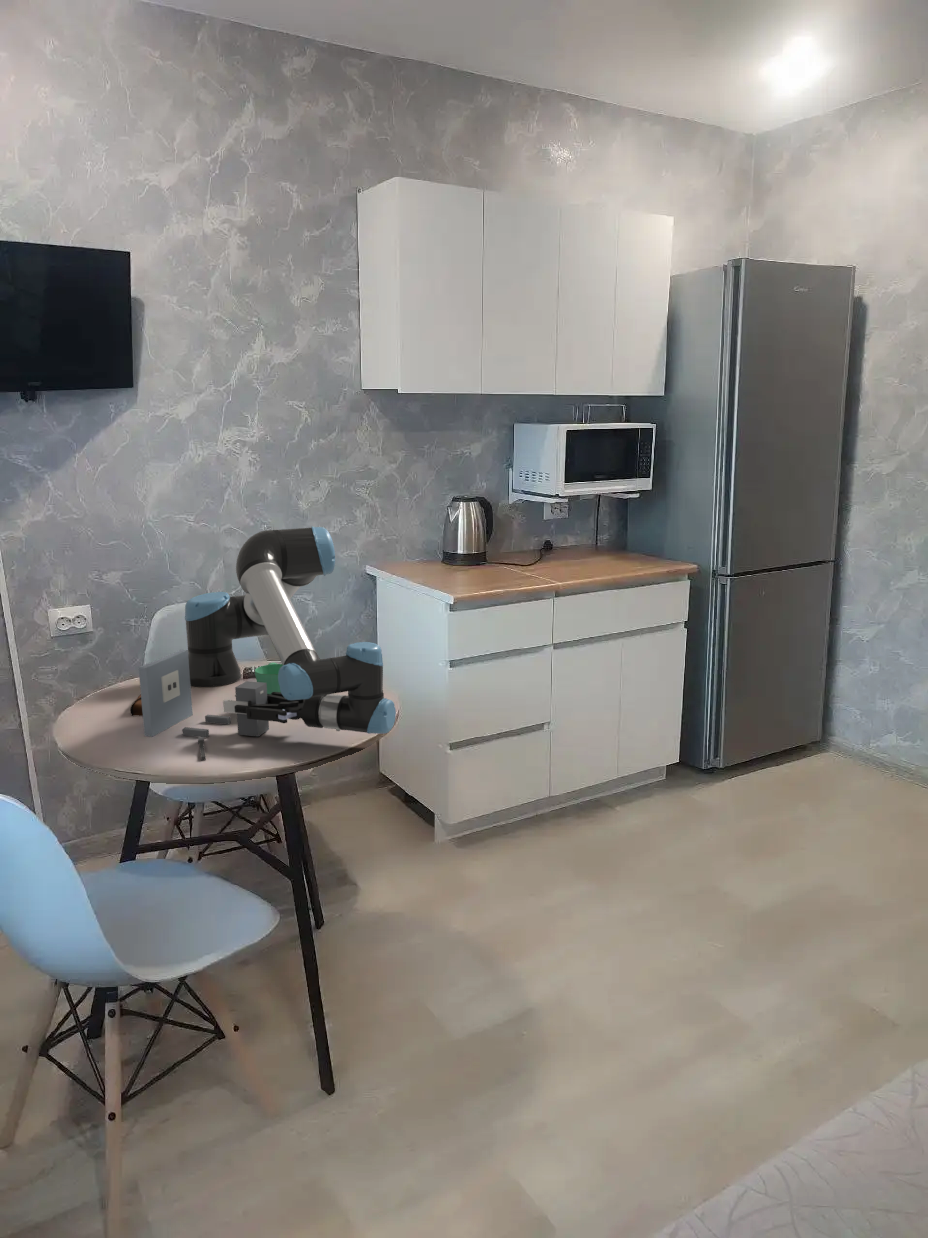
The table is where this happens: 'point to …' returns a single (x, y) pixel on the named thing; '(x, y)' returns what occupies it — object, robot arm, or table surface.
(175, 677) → the outlet board
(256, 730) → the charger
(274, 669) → the mug
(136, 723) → the table surface
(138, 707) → the sunglasses case
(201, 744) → the grey long bar
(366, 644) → the robot arm
